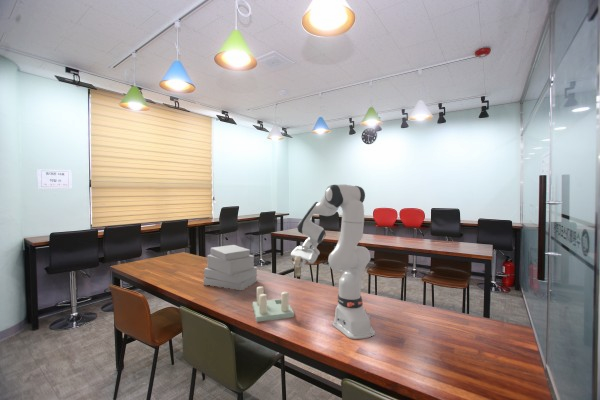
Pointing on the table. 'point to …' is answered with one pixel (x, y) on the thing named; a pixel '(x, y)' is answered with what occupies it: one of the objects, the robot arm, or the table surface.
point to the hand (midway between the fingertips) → (297, 265)
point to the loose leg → (297, 266)
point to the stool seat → (271, 307)
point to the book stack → (230, 268)
